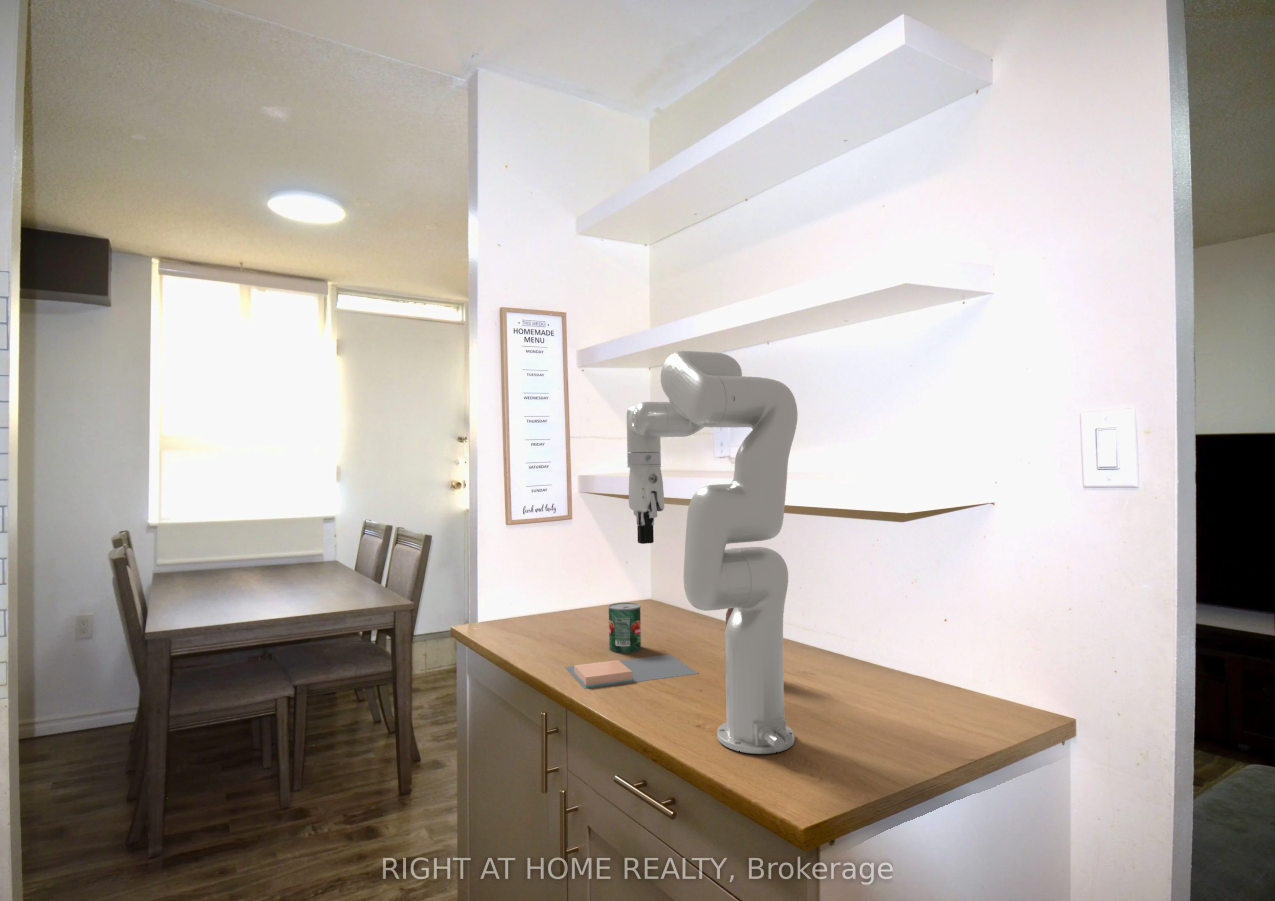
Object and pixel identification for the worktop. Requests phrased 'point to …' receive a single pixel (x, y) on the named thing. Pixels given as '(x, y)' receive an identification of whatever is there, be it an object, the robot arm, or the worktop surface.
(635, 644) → the canned tomato
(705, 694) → the worktop surface
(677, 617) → the worktop surface
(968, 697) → the worktop surface
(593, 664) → the tile
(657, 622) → the worktop surface
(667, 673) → the mat
